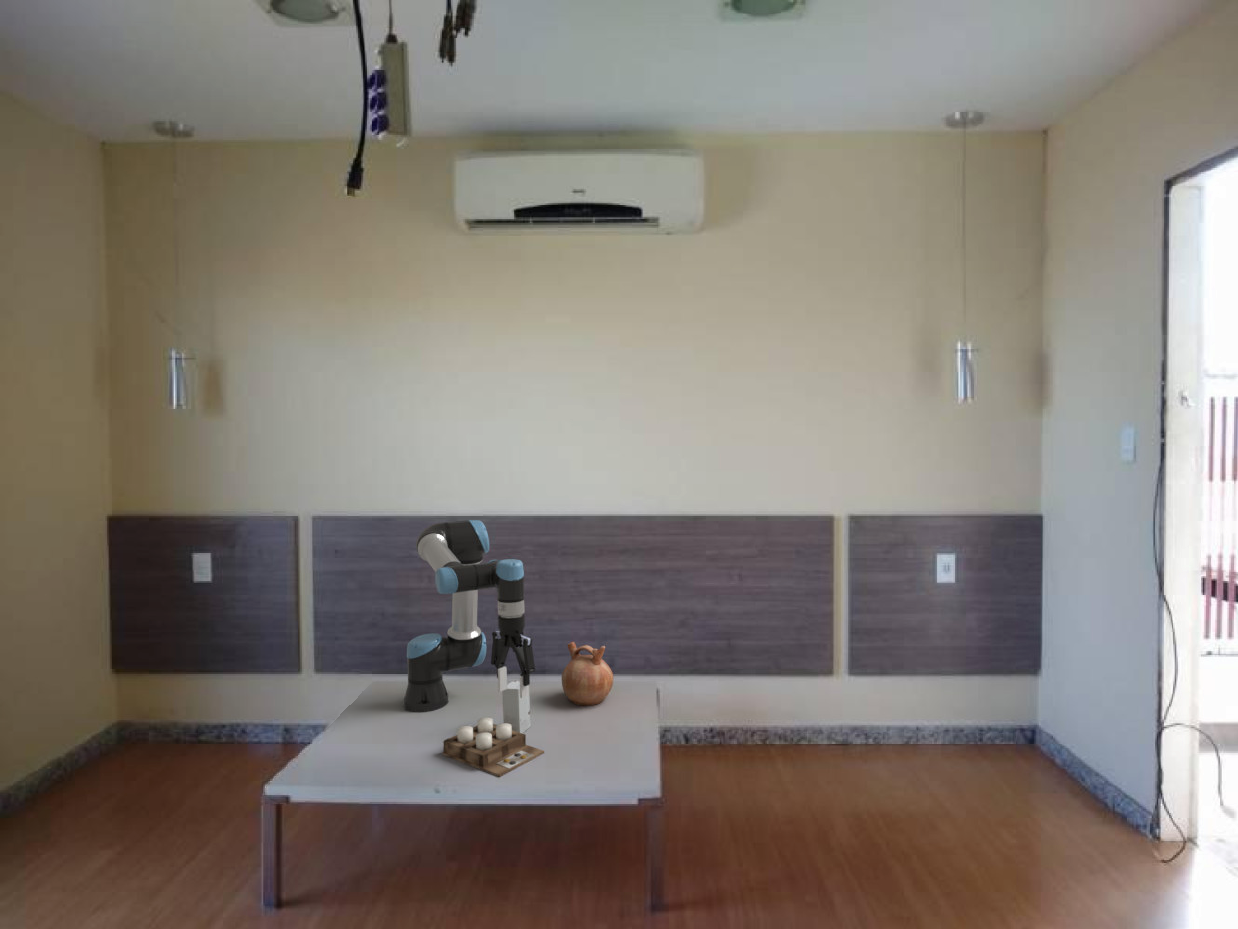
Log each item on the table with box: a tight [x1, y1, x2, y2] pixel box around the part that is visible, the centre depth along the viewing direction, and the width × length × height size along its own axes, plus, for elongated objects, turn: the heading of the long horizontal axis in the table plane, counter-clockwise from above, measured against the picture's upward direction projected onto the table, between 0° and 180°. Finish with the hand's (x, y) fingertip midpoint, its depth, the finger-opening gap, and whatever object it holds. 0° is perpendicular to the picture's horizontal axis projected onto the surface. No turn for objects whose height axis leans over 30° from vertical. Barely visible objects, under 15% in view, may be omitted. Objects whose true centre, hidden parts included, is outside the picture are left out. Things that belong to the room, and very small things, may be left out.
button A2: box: [477, 716, 494, 733], centre depth 230 cm, size 5×5×4 cm
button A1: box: [456, 725, 473, 745], centre depth 224 cm, size 5×5×4 cm
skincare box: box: [501, 680, 531, 734], centre depth 239 cm, size 8×6×15 cm
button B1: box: [476, 733, 492, 752], centre depth 219 cm, size 5×5×4 cm
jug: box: [561, 641, 614, 707], centre depth 264 cm, size 18×18×20 cm
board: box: [441, 723, 545, 778], centre depth 223 cm, size 24×18×4 cm
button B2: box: [496, 723, 512, 742], centre depth 225 cm, size 5×5×4 cm
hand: (513, 693), depth 216 cm, fingers open, 8 cm apart
